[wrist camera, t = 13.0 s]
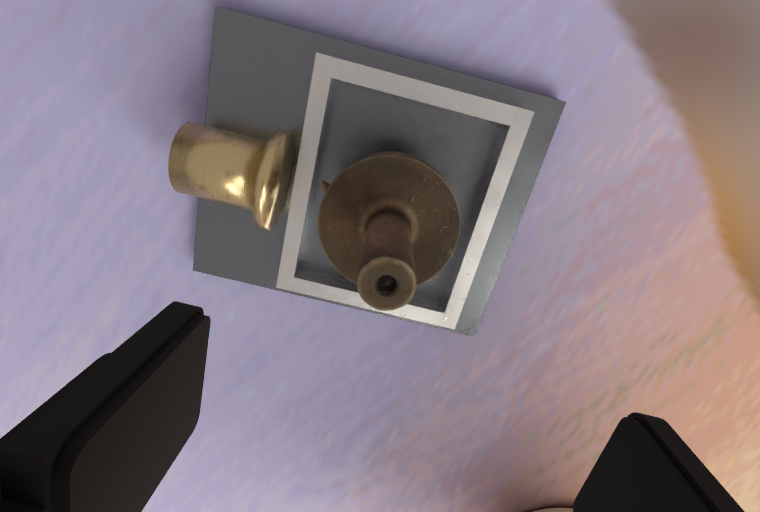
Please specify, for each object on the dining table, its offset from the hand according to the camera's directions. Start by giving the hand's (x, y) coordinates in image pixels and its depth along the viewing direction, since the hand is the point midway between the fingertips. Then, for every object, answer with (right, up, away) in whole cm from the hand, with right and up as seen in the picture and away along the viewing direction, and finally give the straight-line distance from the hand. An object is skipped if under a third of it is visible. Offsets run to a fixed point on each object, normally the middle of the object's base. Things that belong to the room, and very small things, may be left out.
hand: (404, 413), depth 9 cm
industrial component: (+1, +6, +17) cm, 18 cm away
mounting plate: (-2, +8, +17) cm, 19 cm away
